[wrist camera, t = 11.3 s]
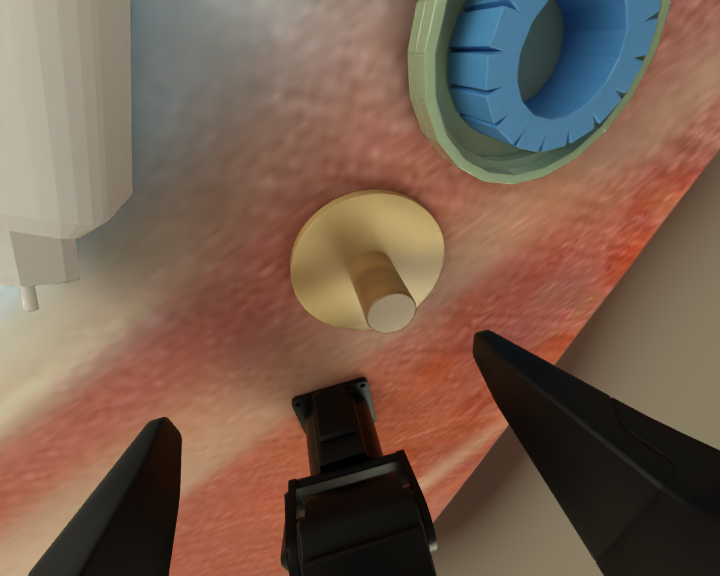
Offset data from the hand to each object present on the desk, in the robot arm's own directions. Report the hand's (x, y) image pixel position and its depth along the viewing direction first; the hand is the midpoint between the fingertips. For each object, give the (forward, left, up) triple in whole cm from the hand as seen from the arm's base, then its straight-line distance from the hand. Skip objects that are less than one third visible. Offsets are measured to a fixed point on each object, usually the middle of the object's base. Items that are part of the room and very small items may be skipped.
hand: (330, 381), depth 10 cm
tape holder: (-4, -4, -12) cm, 13 cm away
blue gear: (+6, -13, -11) cm, 18 cm away
